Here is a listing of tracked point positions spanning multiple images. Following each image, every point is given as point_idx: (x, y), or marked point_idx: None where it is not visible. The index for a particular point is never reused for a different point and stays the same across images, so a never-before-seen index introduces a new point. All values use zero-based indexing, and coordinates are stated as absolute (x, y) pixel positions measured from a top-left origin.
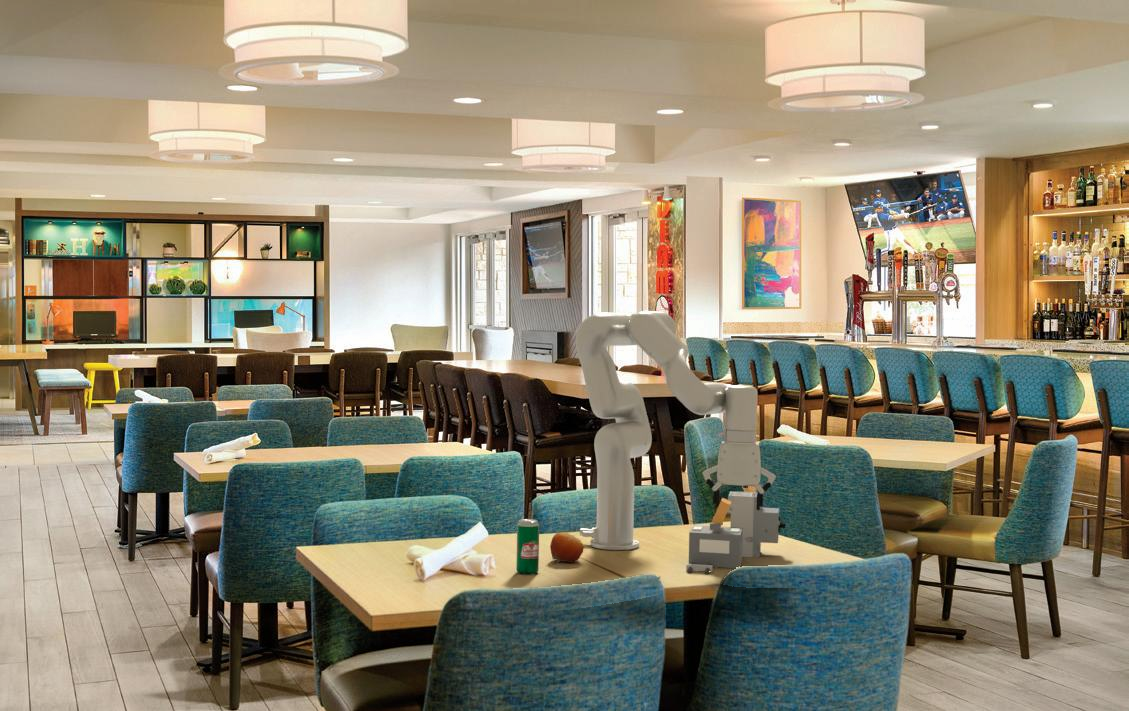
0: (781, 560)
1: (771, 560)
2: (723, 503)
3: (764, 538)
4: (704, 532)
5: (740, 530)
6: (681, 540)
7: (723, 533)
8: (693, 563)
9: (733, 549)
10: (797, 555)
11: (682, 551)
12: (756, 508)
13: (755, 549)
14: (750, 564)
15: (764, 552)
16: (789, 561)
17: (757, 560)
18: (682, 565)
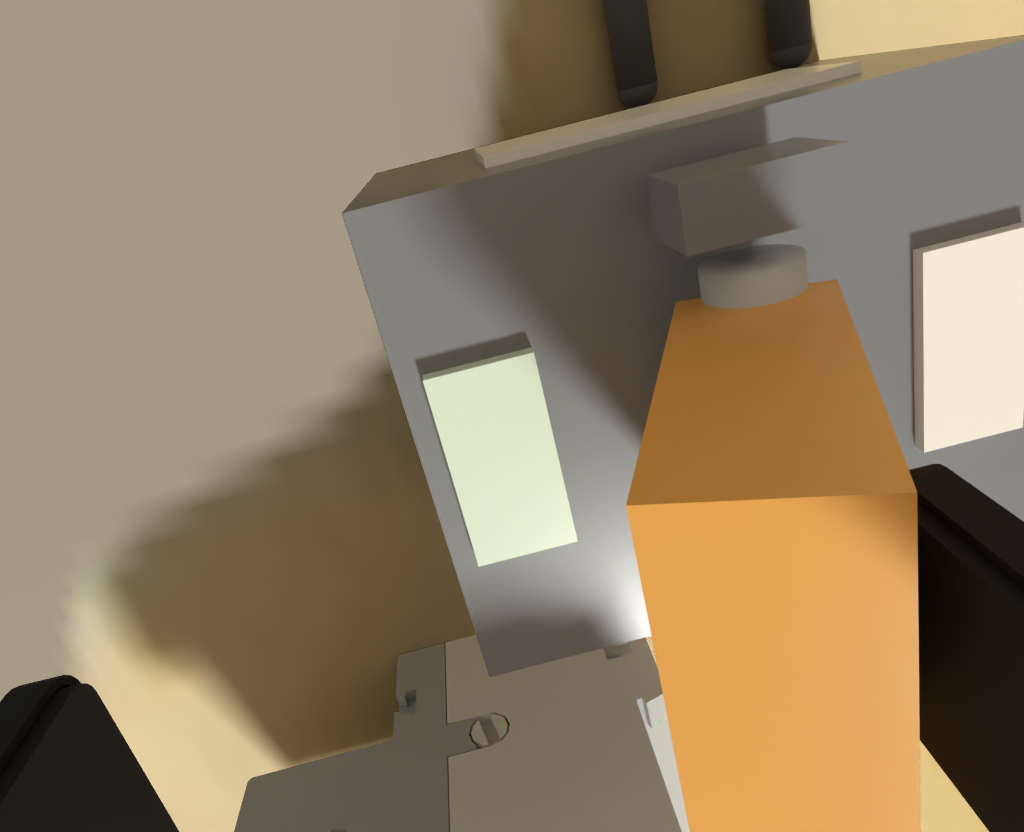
0: (220, 645)
1: (282, 610)
2: (807, 477)
3: (352, 780)
4: (852, 147)
5: (459, 526)
6: (980, 826)
7: (593, 214)
8: (784, 11)
9: (432, 173)
10: (199, 824)
11: None
12: (67, 695)
13: (425, 688)
14: (364, 403)
15: None
16: (155, 644)
17: (372, 560)
18: None
